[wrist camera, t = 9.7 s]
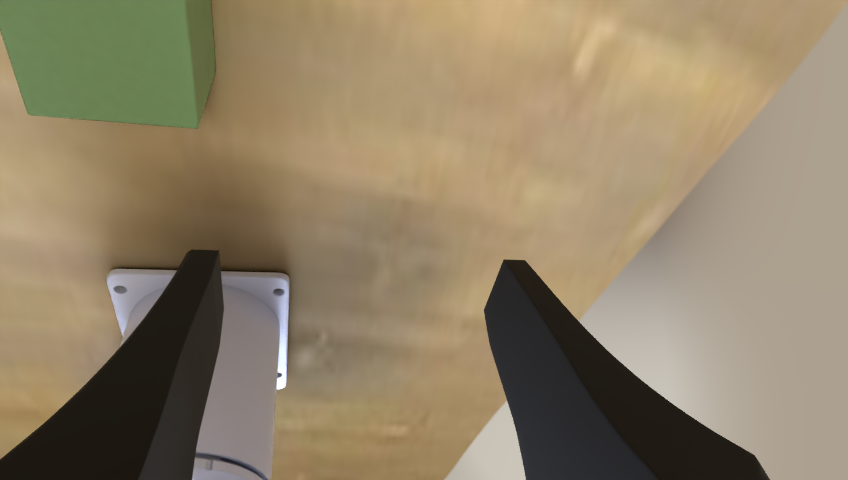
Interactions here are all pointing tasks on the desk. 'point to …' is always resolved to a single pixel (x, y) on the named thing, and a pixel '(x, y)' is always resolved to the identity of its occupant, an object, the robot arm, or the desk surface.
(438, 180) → the desk surface
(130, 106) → the green block
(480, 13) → the desk surface
